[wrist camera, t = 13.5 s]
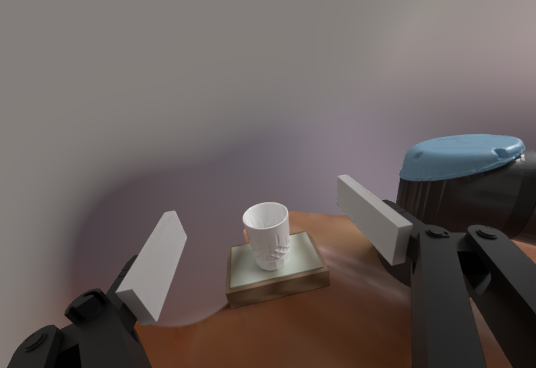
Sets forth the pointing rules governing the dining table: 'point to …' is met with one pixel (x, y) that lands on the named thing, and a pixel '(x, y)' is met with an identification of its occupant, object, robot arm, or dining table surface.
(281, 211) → the white cup
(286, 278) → the board
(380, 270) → the dining table surface
